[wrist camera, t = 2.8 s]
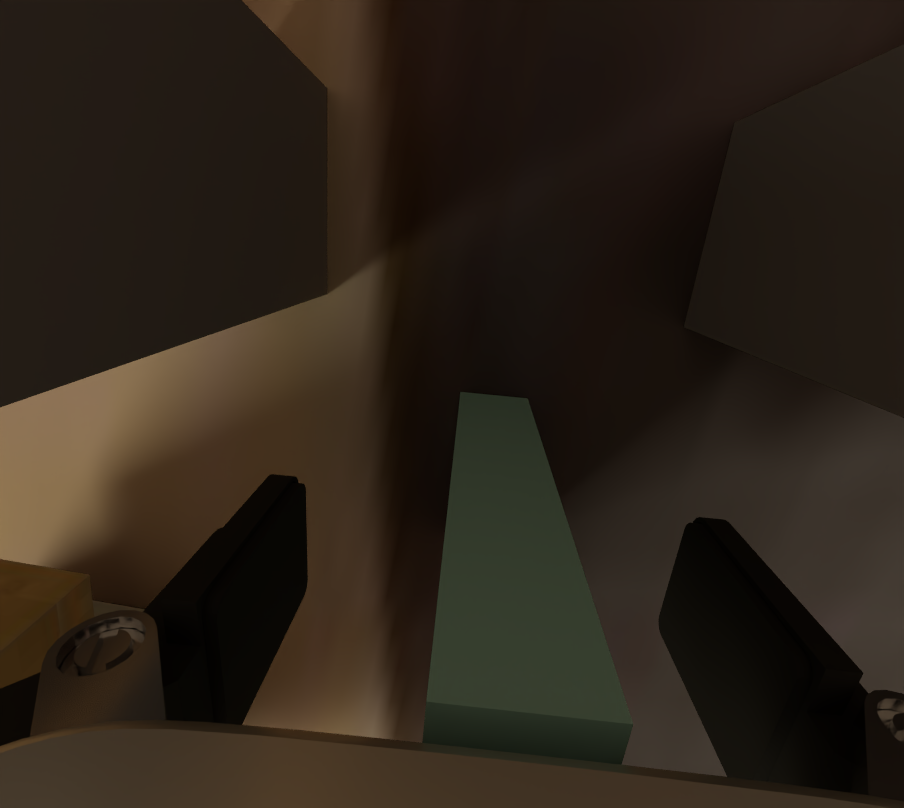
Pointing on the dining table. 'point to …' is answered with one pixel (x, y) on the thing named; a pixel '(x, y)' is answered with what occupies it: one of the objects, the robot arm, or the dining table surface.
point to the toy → (40, 614)
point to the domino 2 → (516, 605)
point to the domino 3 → (815, 236)
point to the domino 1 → (149, 181)
